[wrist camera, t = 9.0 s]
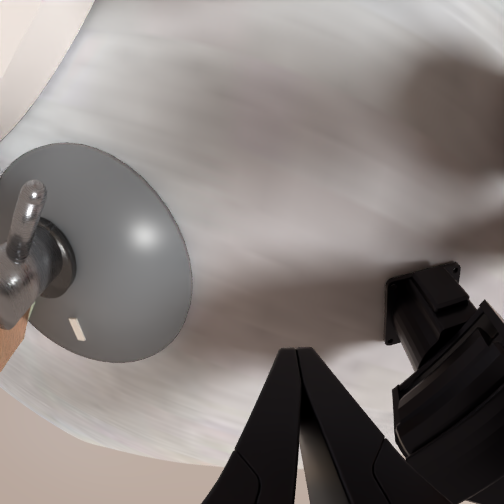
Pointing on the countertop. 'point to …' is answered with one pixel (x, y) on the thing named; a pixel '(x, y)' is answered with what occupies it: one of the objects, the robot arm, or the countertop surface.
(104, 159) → the dial plate
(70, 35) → the ring with crossbar
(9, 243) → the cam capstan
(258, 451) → the robot arm
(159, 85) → the countertop surface
